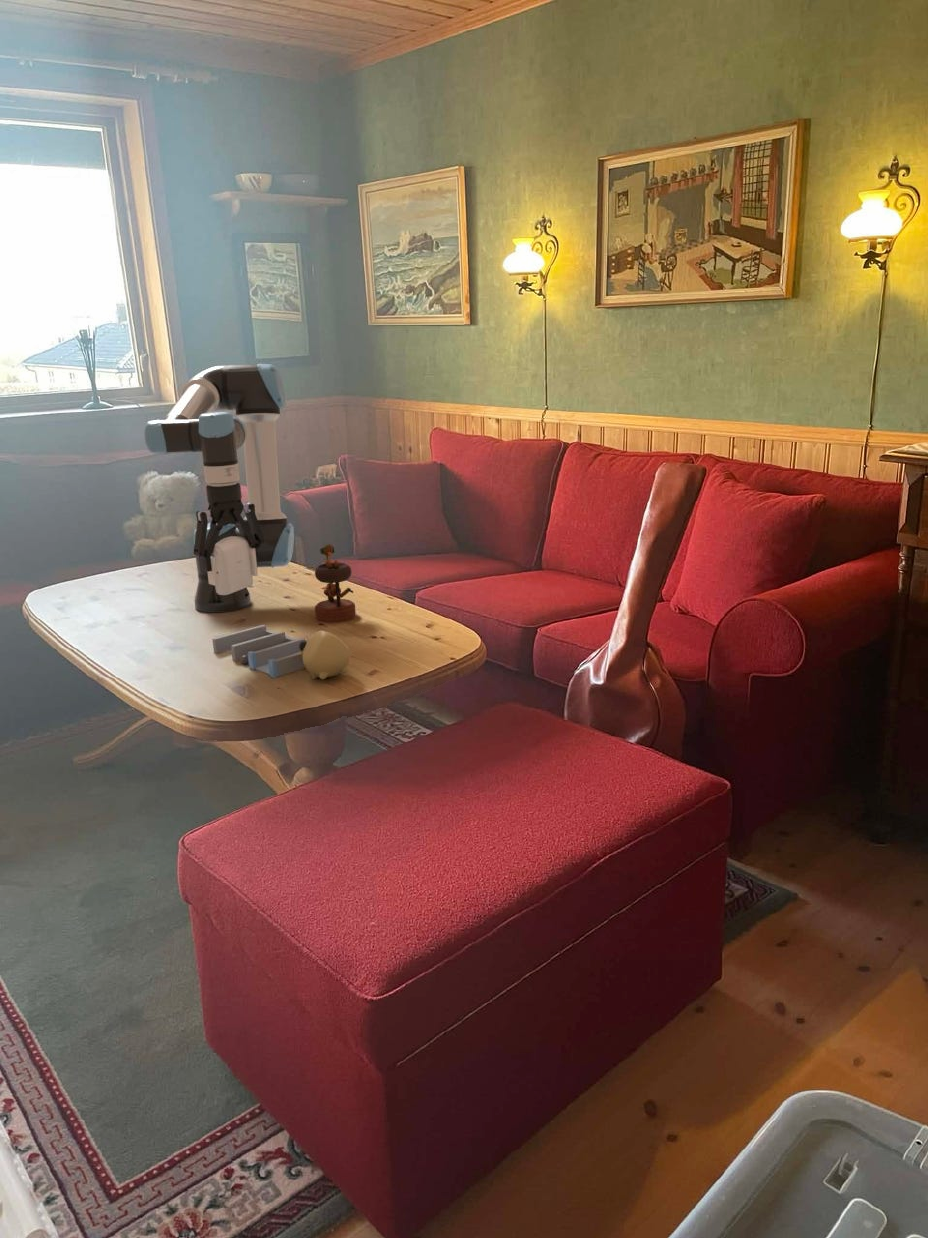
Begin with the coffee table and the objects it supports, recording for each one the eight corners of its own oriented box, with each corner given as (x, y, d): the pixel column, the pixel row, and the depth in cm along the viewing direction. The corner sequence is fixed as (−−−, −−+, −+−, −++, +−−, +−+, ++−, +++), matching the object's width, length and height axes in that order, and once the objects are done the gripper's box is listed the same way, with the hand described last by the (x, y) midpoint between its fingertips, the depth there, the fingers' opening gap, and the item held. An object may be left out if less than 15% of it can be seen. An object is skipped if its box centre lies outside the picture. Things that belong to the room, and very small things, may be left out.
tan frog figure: (334, 664, 209) (331, 619, 206) (359, 679, 200) (355, 632, 197) (294, 673, 204) (289, 627, 201) (316, 689, 195) (312, 641, 191)
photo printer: (228, 596, 210) (222, 542, 207) (213, 594, 212) (206, 541, 209) (256, 585, 219) (250, 533, 216) (241, 584, 221) (235, 532, 218)
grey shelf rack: (211, 653, 220) (209, 637, 219) (268, 637, 230) (267, 622, 229) (273, 678, 202) (272, 661, 201) (332, 659, 212) (331, 643, 211)
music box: (303, 615, 247) (303, 541, 242) (340, 611, 254) (340, 538, 249) (332, 628, 235) (332, 550, 231) (369, 623, 242) (370, 546, 237)
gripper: (185, 492, 198) (198, 592, 205) (274, 477, 213) (283, 572, 220) (168, 488, 203) (181, 587, 210) (256, 475, 218) (265, 567, 225)
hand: (233, 579), depth 215 cm, fingers closed on photo printer, 10 cm apart
